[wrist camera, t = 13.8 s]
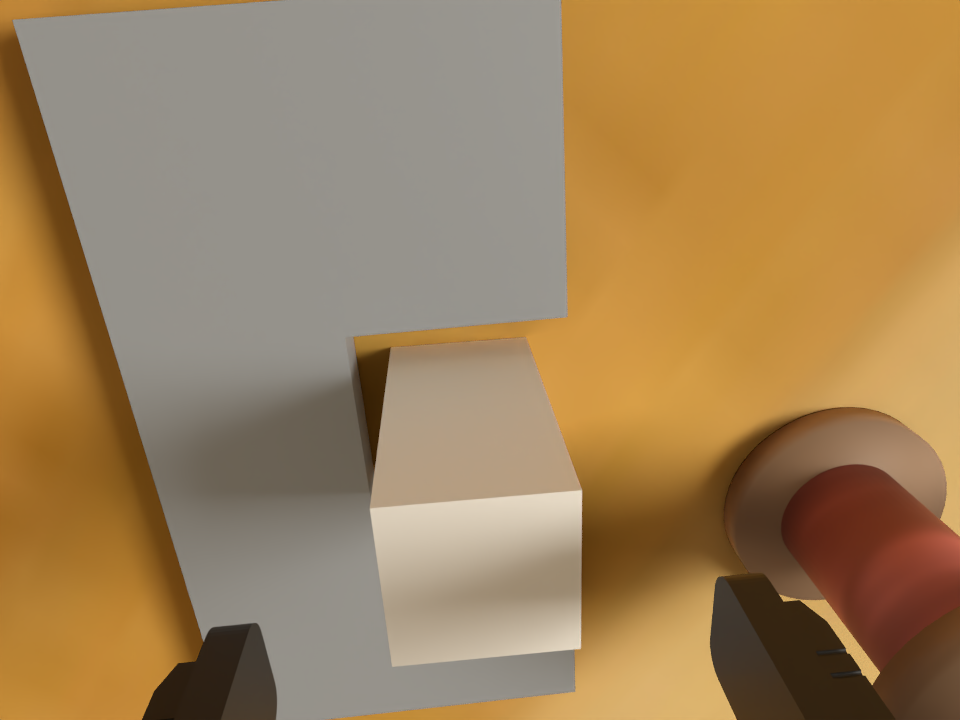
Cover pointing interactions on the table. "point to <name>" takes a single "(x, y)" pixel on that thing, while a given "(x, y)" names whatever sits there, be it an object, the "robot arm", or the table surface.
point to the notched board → (305, 281)
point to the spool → (860, 545)
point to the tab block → (474, 507)
